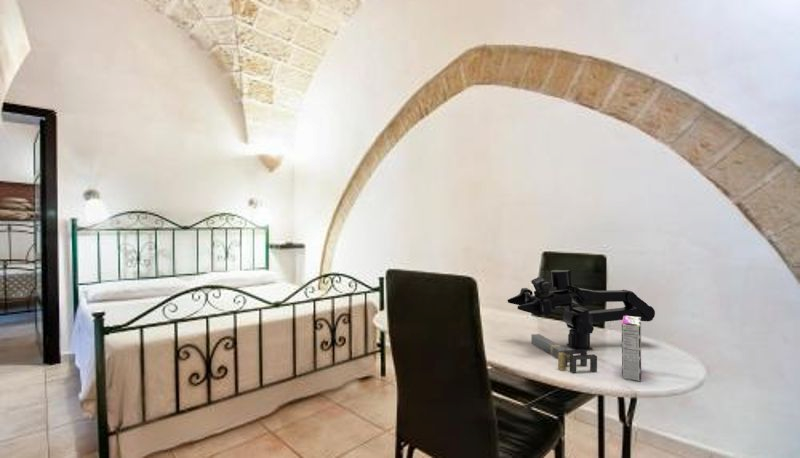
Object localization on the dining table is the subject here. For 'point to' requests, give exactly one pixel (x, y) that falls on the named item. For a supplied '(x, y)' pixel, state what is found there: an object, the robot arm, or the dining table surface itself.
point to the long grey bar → (547, 345)
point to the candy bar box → (631, 348)
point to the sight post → (562, 361)
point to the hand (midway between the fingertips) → (512, 304)
